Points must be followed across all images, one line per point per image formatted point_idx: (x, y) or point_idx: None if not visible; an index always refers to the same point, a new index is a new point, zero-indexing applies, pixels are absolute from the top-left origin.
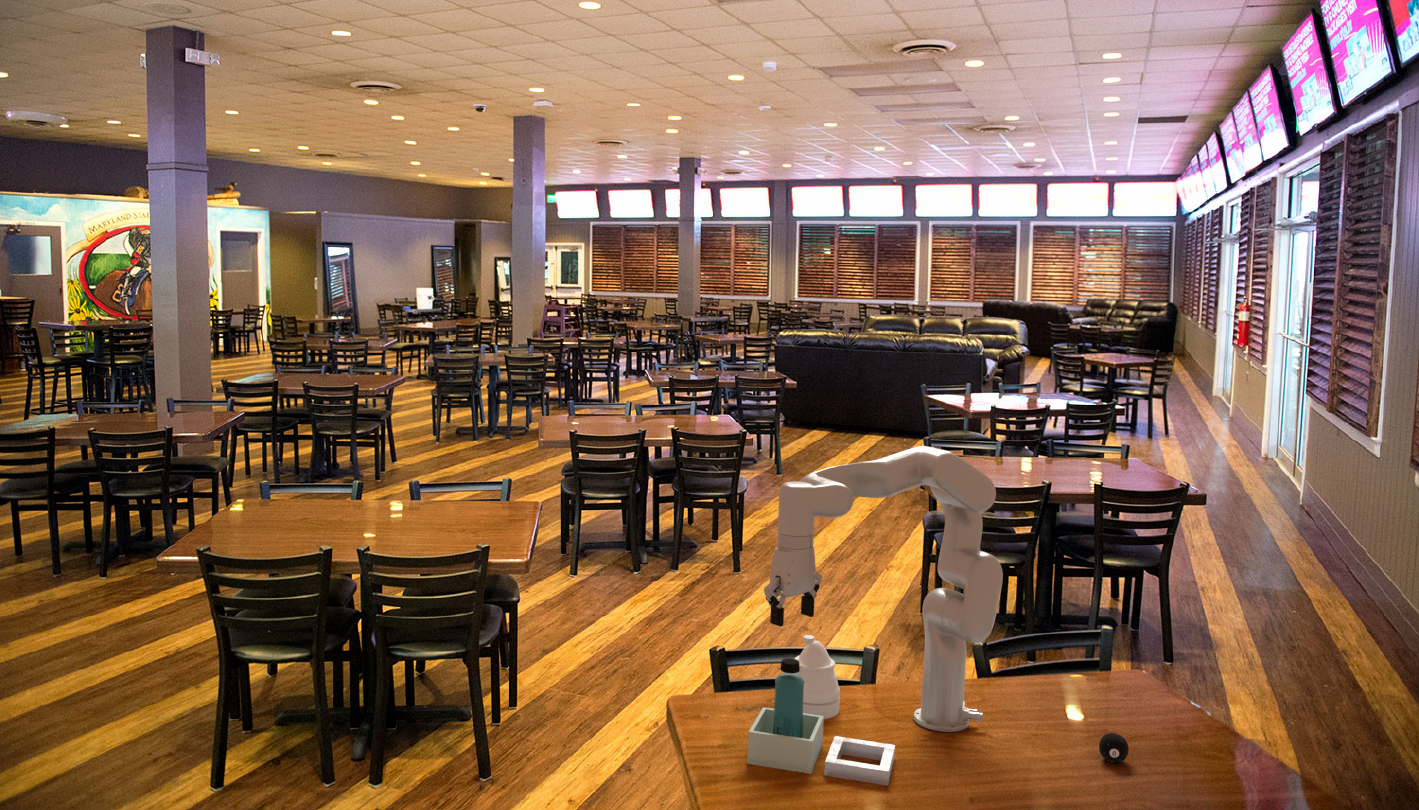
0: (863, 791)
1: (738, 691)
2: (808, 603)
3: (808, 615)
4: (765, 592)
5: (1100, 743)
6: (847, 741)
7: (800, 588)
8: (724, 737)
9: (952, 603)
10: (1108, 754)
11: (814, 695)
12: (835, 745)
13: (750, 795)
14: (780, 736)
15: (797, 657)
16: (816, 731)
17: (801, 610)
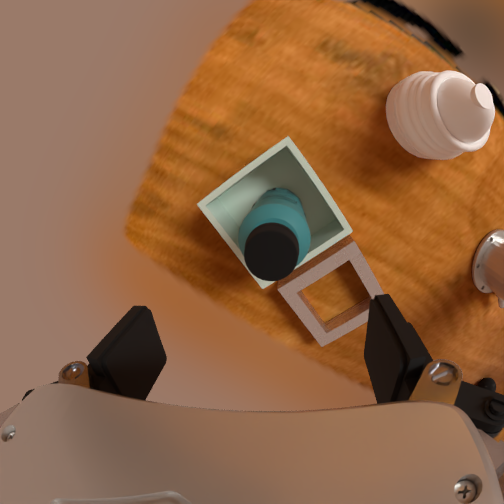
0: (286, 330)
1: (363, 11)
2: (382, 385)
3: (367, 343)
4: (4, 420)
5: (485, 387)
6: (354, 264)
7: None
8: (237, 109)
9: None
10: None
11: (417, 141)
12: (329, 263)
13: (166, 263)
14: (230, 247)
15: (449, 75)
16: (295, 267)
17: (374, 311)
